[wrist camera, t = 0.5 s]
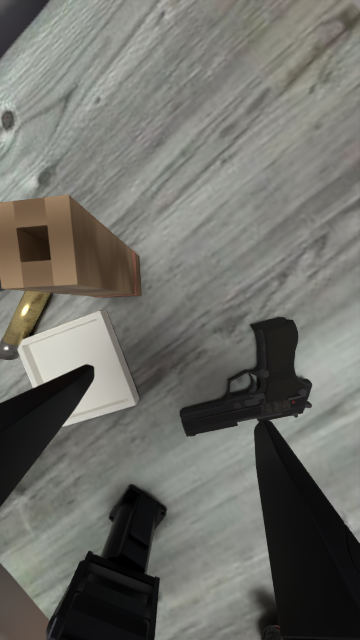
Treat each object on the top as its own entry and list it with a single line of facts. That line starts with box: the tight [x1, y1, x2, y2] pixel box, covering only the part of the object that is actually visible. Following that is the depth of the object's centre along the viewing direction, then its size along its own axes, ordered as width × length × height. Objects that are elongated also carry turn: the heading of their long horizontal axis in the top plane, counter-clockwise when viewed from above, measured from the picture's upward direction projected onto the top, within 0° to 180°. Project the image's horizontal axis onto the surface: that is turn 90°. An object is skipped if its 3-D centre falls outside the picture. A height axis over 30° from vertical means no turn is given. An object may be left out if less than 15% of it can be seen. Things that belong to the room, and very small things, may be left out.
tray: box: [17, 310, 140, 427], centre depth 23 cm, size 13×13×2 cm
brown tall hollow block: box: [0, 195, 142, 297], centre depth 16 cm, size 5×5×12 cm
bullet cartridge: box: [0, 291, 51, 360], centre depth 22 cm, size 10×2×2 cm, turn 148°
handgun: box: [180, 317, 312, 437], centre depth 21 cm, size 3×17×12 cm
